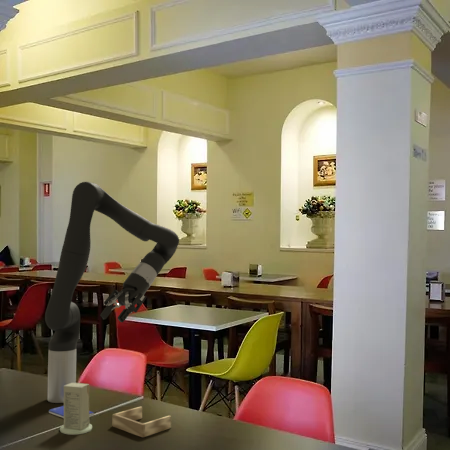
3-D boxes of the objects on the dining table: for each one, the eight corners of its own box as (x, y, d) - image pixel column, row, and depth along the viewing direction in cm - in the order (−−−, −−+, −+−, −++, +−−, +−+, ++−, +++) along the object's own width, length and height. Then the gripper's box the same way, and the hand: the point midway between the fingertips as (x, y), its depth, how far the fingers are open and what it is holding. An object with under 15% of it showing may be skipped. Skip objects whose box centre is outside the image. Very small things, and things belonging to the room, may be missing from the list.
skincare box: (89, 426, 163) (90, 383, 163) (81, 430, 159) (82, 387, 159) (71, 423, 165) (72, 381, 166) (62, 427, 161) (63, 385, 161)
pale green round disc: (62, 424, 166) (62, 422, 166) (93, 423, 167) (93, 421, 167) (58, 435, 157) (58, 433, 157) (90, 434, 158) (91, 431, 158)
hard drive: (48, 409, 177) (72, 418, 169) (70, 403, 183) (94, 411, 175) (48, 414, 177) (72, 423, 169) (70, 408, 183) (94, 416, 175)
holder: (140, 417, 173) (140, 406, 173) (170, 427, 164) (171, 415, 164) (112, 426, 165) (112, 414, 165) (142, 437, 156) (142, 424, 156)
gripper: (119, 270, 183) (89, 309, 174) (148, 273, 174) (118, 313, 165) (132, 286, 187) (103, 324, 178) (161, 289, 178) (132, 329, 169)
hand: (110, 319), depth 171 cm, fingers open, 8 cm apart
